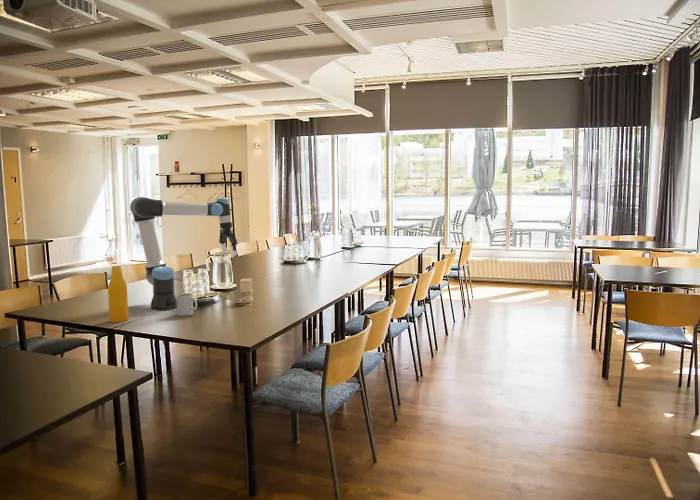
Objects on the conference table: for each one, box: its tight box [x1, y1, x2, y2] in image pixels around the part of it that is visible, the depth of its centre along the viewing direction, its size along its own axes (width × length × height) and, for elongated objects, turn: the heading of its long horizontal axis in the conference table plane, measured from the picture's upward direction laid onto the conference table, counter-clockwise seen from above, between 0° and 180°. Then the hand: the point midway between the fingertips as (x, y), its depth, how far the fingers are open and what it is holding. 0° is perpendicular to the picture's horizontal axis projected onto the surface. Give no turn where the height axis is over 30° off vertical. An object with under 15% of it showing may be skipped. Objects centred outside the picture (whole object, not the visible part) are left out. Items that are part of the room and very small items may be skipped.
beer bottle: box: [107, 265, 130, 324], centre depth 272 cm, size 9×9×29 cm
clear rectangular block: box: [239, 278, 254, 303], centre depth 314 cm, size 6×6×14 cm
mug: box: [176, 292, 198, 317], centre depth 287 cm, size 12×8×11 cm
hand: (229, 254), depth 336 cm, fingers open, 13 cm apart
